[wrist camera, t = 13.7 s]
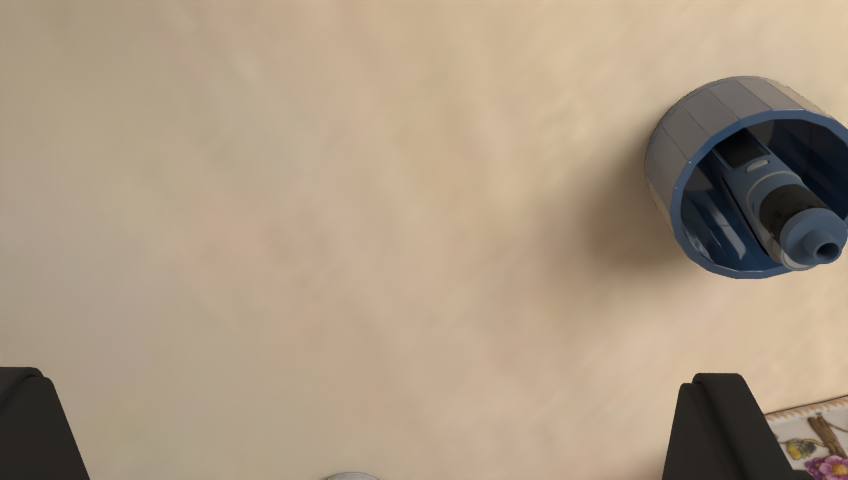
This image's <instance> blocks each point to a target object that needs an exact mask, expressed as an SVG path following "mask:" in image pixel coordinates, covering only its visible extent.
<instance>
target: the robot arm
mask: <svg viewBox="0 0 848 480" xmlns="http://www.w3.org/2000/svg"><path fill="white" fill-rule="evenodd" d="M0 480H90V478H89V476H88V473H87V471H86V468H85V465H84V463H83V460H82V458H81V455H80V452H79V450H78V447H77V445H76V442H75V439H74V437H73V434H72V432H71V429H70V426H69V424H68V421H67V419H66V416H65V413H64V411H63V408H62V406H61V403H60V400H59V398H58V395H57V393H56V390H55V387H54V385H53V383H52V381H51V380H50V379H49V378H47V377H44V376H43V374H42V373H41V371H40V370H38V369H37V368H32V367H0ZM662 480H815V478H814V477H813V476H812V475H811V474H809V473H808V472H807V471H804V470H793V468H792V466H791V465H790V463H789V461H788V459H787V457H786V455H785V454H784V452H783V450H782V448H781V446H780V444H779V443H778V441H777V439H776V437H775V435H774V433H773V431H772V430H771V428H770V426H769V424H768V422H767V420H766V419H765V417H764V415H763V413H762V411H761V409H760V408H759V406H758V404H757V402H756V400H755V398H754V396H753V395H752V393H751V391H750V389H749V387H748V385H747V384H746V382H745V380H744V379H743V377H742V376H741V375H739V374H738V373H698V374H696V375H695V376H694V378H693V381H692V383H683V384H682V385H681V386H680V390H679V394H678V399H677V404H676V410H675V415H674V420H673V425H672V430H671V435H670V440H669V445H668V451H667V456H666V461H665V466H664V471H663V476H662Z"/></svg>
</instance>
